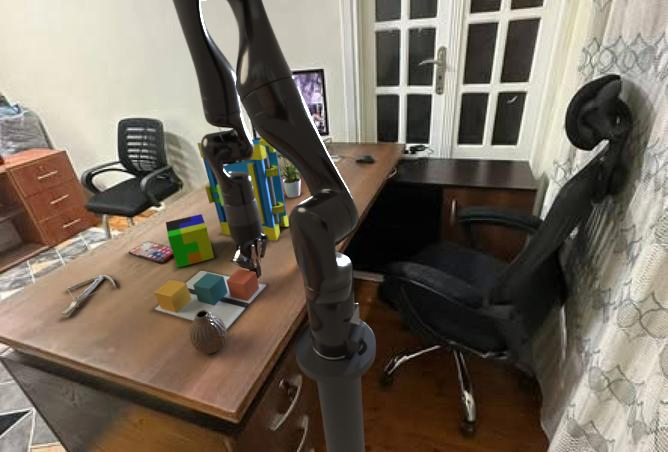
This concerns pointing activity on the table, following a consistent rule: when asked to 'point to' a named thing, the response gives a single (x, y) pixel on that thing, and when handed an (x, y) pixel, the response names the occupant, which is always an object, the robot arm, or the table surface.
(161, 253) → the smartphone
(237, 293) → the terracotta block
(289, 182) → the house plant
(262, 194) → the blue yellow-cornered frame
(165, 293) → the mustard block
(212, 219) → the table surface
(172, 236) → the puzzle toy
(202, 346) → the vase
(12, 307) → the table surface
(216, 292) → the teal block
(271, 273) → the table surface
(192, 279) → the desk mat
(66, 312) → the crossbow
